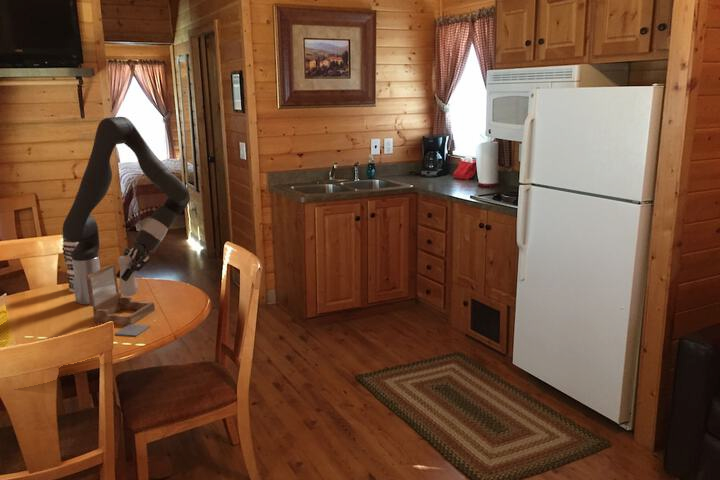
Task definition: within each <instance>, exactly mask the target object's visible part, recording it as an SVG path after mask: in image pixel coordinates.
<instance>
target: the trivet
mask: <svg viewBox="0 0 720 480" xmlns="http://www.w3.org/2000/svg"><path fill="white" fill-rule="evenodd" d="M149 328H151V325H142V324H133V325H132V324H129V325H125V326H124V327H122V328H121V329H119V330H118V331H117V332H114V335H115V336H124V337H136V338H137V337H138V336H140V335H141V334H143V333H144V332H146V331H147V330H148V329H149Z"/></svg>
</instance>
